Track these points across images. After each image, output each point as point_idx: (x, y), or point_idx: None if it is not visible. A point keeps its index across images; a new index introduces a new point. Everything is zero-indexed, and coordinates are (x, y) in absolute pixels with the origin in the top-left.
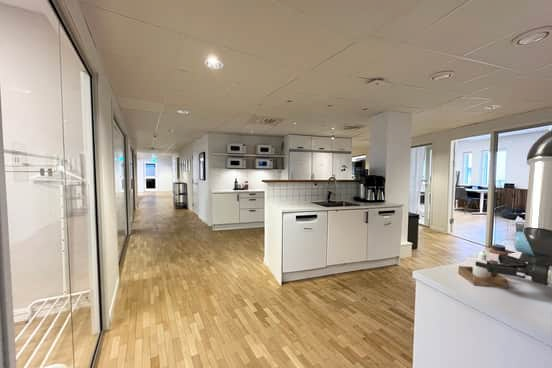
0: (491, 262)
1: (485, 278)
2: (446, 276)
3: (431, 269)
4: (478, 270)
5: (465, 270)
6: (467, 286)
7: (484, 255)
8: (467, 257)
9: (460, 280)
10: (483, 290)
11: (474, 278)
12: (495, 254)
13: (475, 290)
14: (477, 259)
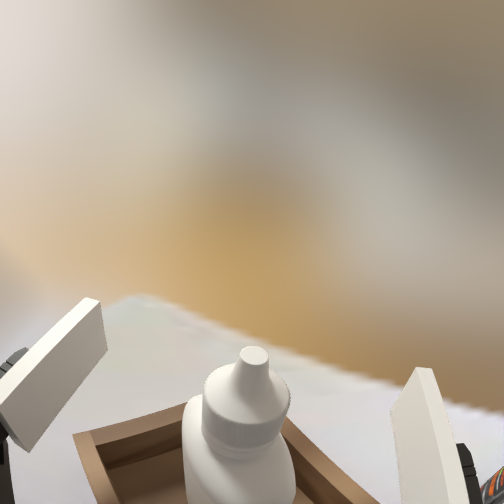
0: (502, 474)
1: (96, 497)
2: (152, 368)
3: (208, 326)
4: (183, 462)
5: (176, 406)
6: (61, 431)
7: (211, 413)
8: (80, 302)
9: (132, 416)
10: (43, 489)
11: (76, 440)
12: (446, 491)
13: (26, 451)
14: (46, 349)
